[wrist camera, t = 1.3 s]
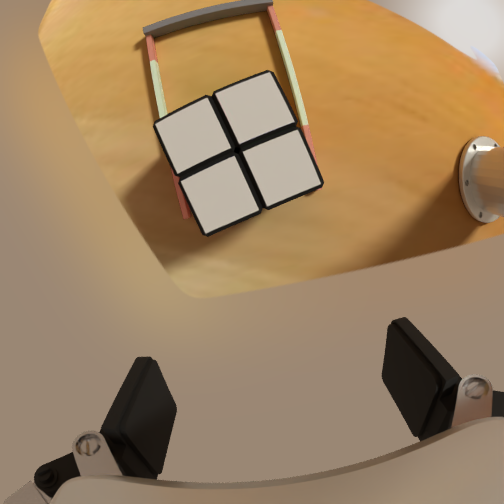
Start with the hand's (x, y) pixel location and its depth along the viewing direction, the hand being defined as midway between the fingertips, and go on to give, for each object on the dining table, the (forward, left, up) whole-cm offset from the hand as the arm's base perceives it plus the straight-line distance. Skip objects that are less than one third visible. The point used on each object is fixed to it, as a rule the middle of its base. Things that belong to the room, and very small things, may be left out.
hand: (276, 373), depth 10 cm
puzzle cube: (0, -9, -22) cm, 24 cm away
